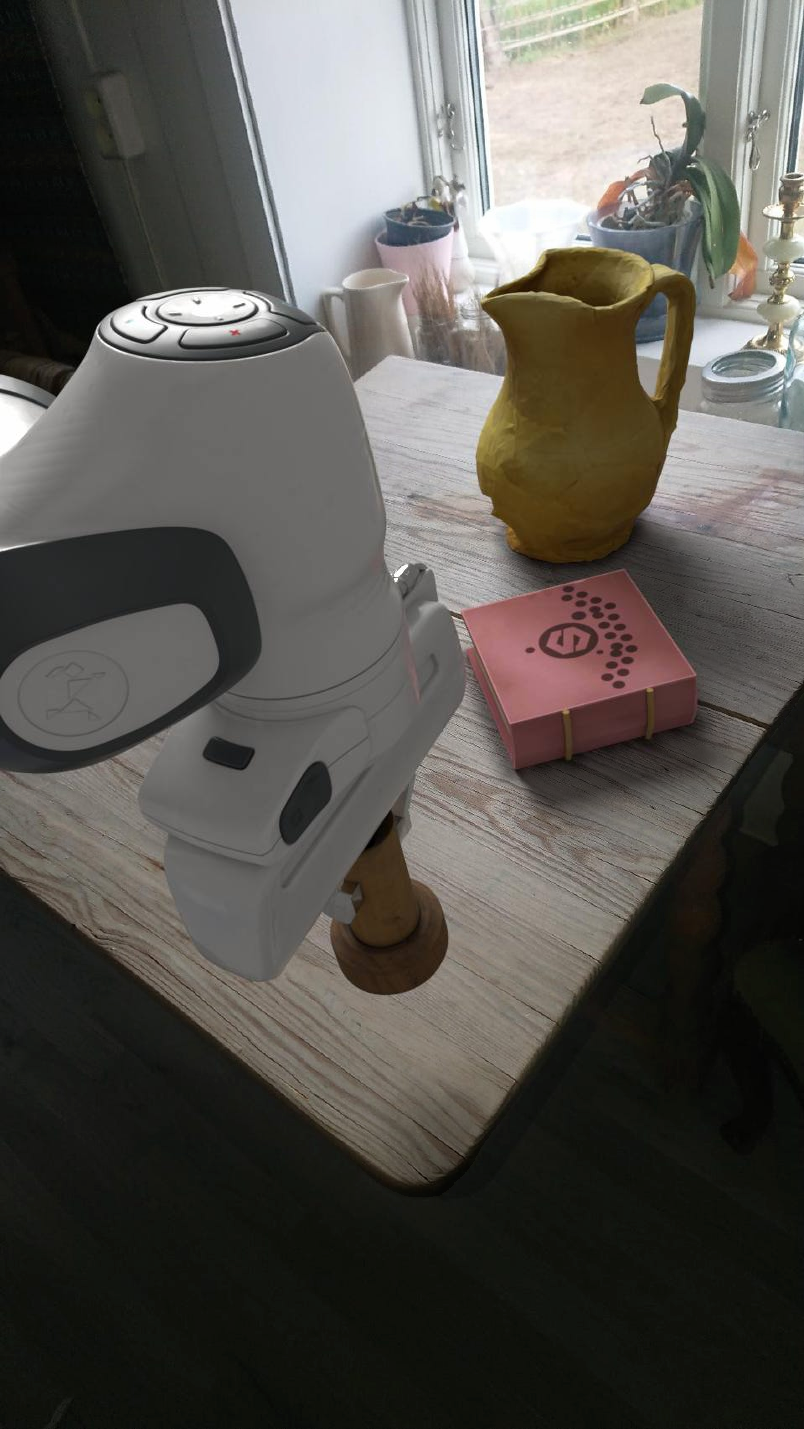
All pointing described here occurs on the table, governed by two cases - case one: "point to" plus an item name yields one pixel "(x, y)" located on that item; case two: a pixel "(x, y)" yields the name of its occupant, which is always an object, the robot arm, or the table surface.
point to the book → (578, 668)
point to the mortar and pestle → (390, 922)
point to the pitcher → (581, 401)
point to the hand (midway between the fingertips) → (369, 872)
